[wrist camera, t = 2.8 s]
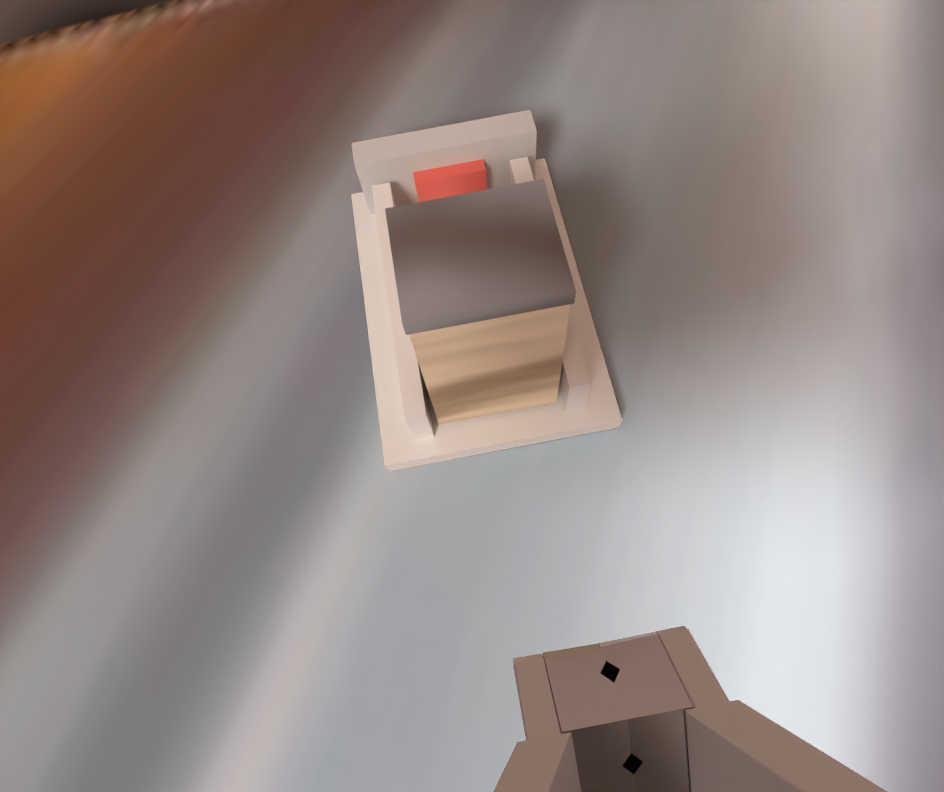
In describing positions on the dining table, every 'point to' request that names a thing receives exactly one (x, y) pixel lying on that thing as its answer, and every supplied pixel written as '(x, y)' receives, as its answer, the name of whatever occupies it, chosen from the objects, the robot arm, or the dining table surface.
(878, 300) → the dining table surface
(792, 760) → the robot arm
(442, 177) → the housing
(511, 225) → the light wood tall block
